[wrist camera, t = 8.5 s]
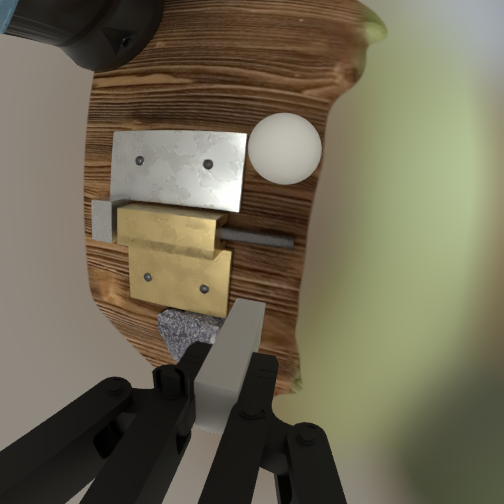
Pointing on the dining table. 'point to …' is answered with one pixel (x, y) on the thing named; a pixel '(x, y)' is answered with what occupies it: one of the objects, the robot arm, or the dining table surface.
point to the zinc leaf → (178, 178)
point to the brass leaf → (177, 256)
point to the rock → (187, 329)
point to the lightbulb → (284, 148)
